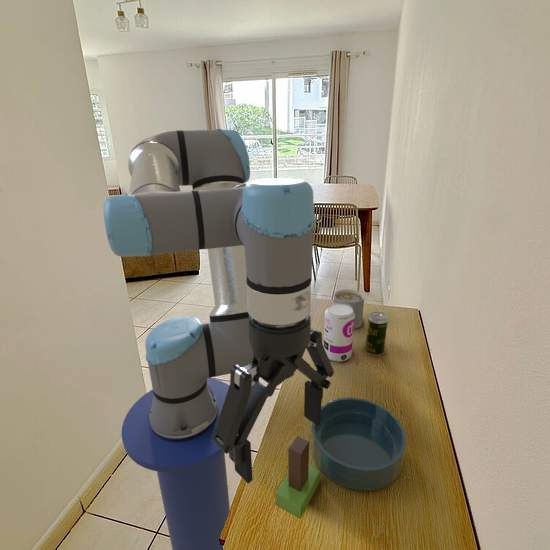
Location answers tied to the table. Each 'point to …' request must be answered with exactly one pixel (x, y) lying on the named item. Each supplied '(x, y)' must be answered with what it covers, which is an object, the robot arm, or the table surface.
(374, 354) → the beer can
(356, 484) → the bowl
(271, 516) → the table surface
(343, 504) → the table surface
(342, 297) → the coffee mug
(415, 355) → the table surface
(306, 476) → the sponge brush
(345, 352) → the supplement can
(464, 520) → the table surface
